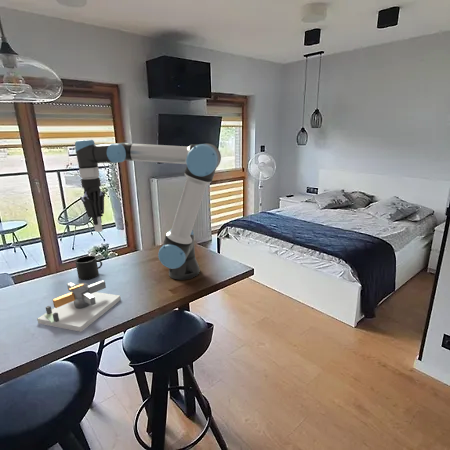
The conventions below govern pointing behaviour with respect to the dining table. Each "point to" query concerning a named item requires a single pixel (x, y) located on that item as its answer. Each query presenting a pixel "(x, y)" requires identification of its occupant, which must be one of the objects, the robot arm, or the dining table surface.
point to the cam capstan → (79, 294)
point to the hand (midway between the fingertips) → (98, 231)
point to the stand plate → (78, 313)
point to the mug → (87, 267)
